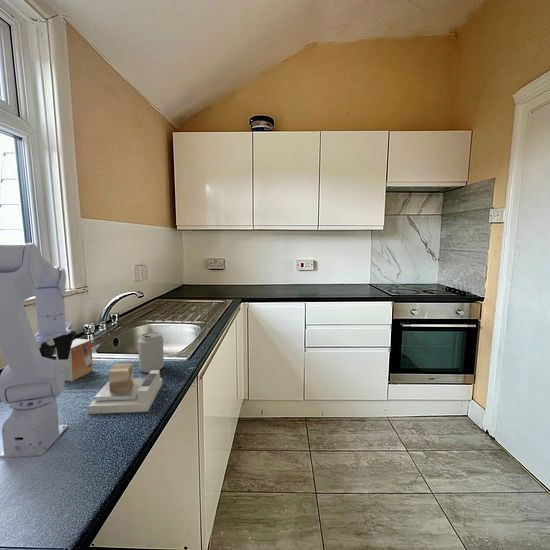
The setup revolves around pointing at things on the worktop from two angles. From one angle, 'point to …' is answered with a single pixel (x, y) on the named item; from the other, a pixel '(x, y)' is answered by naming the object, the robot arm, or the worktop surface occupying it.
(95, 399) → the pan
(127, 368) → the beech block
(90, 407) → the scale base
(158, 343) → the can
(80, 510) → the worktop surface
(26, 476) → the worktop surface
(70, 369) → the small box
